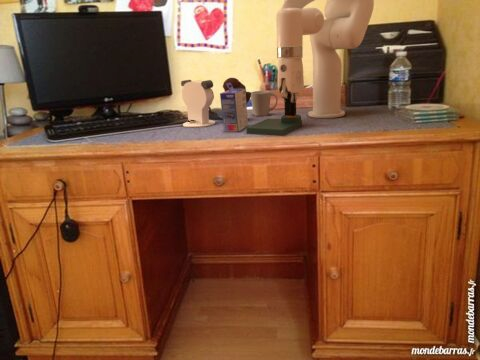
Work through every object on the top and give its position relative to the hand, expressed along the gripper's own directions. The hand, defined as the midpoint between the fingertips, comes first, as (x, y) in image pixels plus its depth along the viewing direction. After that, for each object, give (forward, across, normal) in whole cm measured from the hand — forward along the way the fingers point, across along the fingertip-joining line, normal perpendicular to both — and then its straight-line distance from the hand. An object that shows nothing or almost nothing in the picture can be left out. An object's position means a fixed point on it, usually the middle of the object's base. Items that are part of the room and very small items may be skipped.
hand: (290, 115), depth 121 cm
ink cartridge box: (+4, -6, +16) cm, 18 cm away
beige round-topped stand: (+4, -2, +33) cm, 34 cm away
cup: (+4, +19, +18) cm, 27 cm away
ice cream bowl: (+4, +7, +23) cm, 25 cm away
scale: (+4, -4, +3) cm, 7 cm away
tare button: (+2, 0, 0) cm, 2 cm away
